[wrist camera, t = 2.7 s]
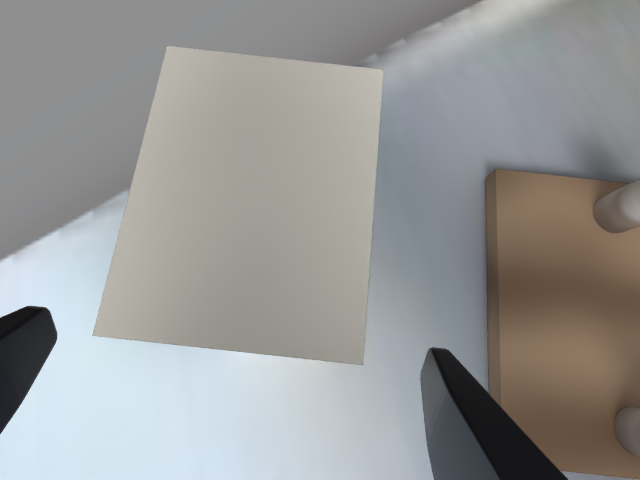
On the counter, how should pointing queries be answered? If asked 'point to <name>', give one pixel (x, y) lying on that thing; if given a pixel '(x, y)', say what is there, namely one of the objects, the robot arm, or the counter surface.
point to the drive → (250, 209)
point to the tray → (566, 316)
